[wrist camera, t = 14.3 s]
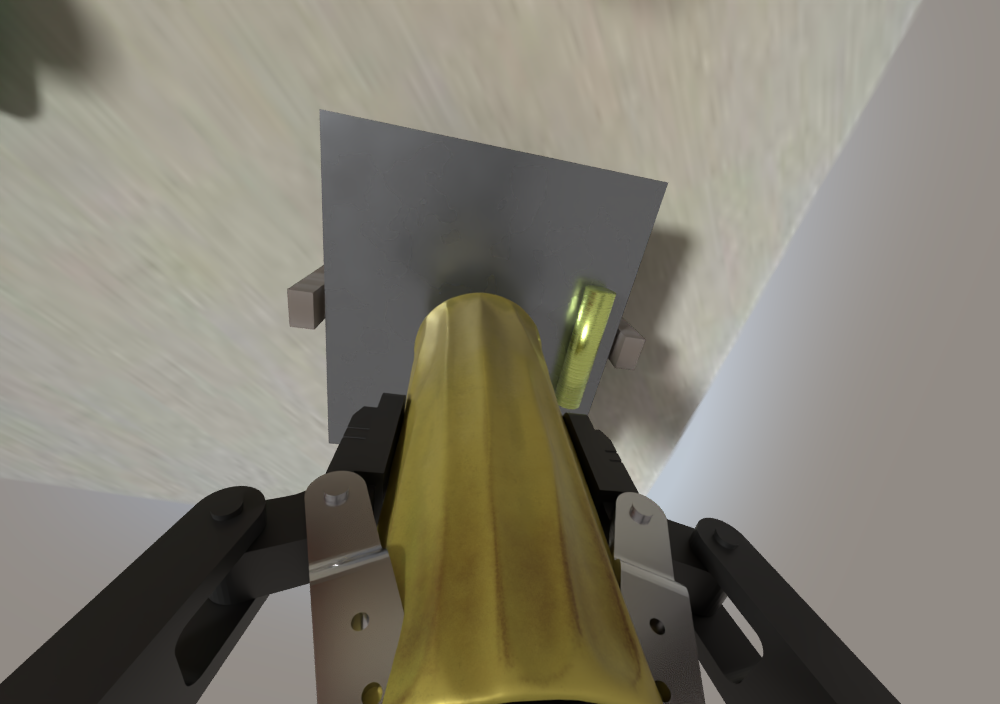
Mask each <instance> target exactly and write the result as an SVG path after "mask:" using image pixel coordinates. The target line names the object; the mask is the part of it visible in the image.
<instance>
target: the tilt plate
mask: <svg viewBox="0 0 1000 704" xmlns="http://www.w3.org/2000/svg"><path fill="white" fill-rule="evenodd" d="M320 140H321V177H322V213H323V250H324V286H325V322H326V359H327V395H328V432H329V443H332V444H340V441H341V439H342V438H343V435H344V433H345V431H346V429H347V427H348V424H349V422H350V420H351V418H352V416H353V415H354V414H355V413H356V412H357V411H359V410H360V409H361V408H362V407H364V406H368V407H378V404H379V402H380V399H381V396H382V394H383V393H392V394H401V395H406V398H407V392H408V386H409V381H410V375H411V370H412V365H413V361H414V346H415V339H416V336H417V333H418V330H419V328H420V326H421V324H422V322H423V321H424V319H425V317H426V316H427V315H428V314H429V313H430V312H431V311H432V310H433V309H434V308H436V307H437V306H438V305H440V304H441V303H443V302H444V301H446V300H448V299H450V298H453V297H456V296H460V295H464V294H469V293H480V292H483V293H489V294H494V295H498V296H501V297H504V298H506V299H509V300H511V301H512V302H514V303H516V304H517V305H519V306H520V307H521V308H522V309H523V310H524V311H525V312H526V313H527V314H528V315H529V316H530V317H531V319H532V320H533V322H534V323H535V325H536V327H537V329H538V332H539V335H540V339H541V345H542V352H543V356H544V359H545V362H546V365H547V368H548V372H549V376H550V380H551V383H552V386H553V389H554V392H555V396H556V399H557V402H558V405H559V408H560V411H561V414H562V416H563V415H564V413H566V412H567V413H577V414H586V415H587V416H588V413H589V410H590V407H591V405H592V402H593V399H594V396H595V393H596V390H597V387H598V384H599V381H600V379H601V376H602V373H603V370H604V367H605V364H606V361H607V358H608V355H609V352H610V350H611V347H612V344H613V341H614V338H615V335H616V332H617V329H618V326H619V324H620V321H621V318H622V315H623V312H624V309H625V306H626V303H627V300H628V297H629V295H630V292H631V289H632V286H633V283H634V280H635V277H636V274H637V271H638V269H639V266H640V263H641V260H642V257H643V254H644V251H645V248H646V245H647V242H648V240H649V237H650V234H651V231H652V228H653V225H654V222H655V219H656V216H657V214H658V211H659V208H660V205H661V202H662V199H663V196H664V193H665V190H666V188H667V185H668V183H667V182H662V181H658V180H653V179H648V178H643V177H639V176H634V175H629V174H624V173H620V172H615V171H610V170H605V169H601V168H596V167H591V166H586V165H582V164H577V163H572V162H567V161H563V160H558V159H553V158H549V157H544V156H539V155H534V154H530V153H525V152H520V151H515V150H511V149H506V148H501V147H496V146H492V145H487V144H482V143H477V142H473V141H468V140H463V139H458V138H454V137H449V136H444V135H439V134H435V133H430V132H425V131H421V130H416V129H411V128H406V127H402V126H397V125H392V124H387V123H383V122H378V121H373V120H368V119H364V118H359V117H354V116H349V115H345V114H340V113H335V112H330V111H326V110H321V109H320ZM405 405H406V404H405Z"/></svg>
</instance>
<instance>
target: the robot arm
mask: <svg viewBox="0 0 1000 704" xmlns="http://www.w3.org/2000/svg"><path fill="white" fill-rule="evenodd" d="M405 404H406V395H401V394H392V393H383V394H382V396H381V399H380V402H379V404H378V407H368V406H364V407H362V408H361V409H360V410H359V411H357V412H356V413H355V414H354V415H353V416H352V418H351V420H350V422H349V424H348V427H347V429H346V431H345V433H344V435H343V438H342V439H341V441H340V444H339V446H338V448H337V450H336V452H335V454H334V457H333V459H332V461H331V463H330V465H329V467H328V470H327V472H326V474H324V475H322V476H320V477H318V478H317V479H315V480H314V481H313V482H312V483H311V484H310V485H309V486H308V488H307V490H306V491H304V492H301V493H298V494H295V495H291V496H286V497H280V498H275V499H269V500H265V498H264V495H263V494H262V493H261V492H260V491H259V490H257V489H255V488H252V487H248V486H235V487H229V488H225V489H222V490H219V491H217V492H214V493H212V494H210V495H208V496H207V497H205V498H204V499H202V500H201V501H200V502H199V503H197V504H196V505H195V506H194V507H193V508H192V509H191V510H190V511H189V512H187V513H186V514H185V515H184V516H183V517H182V518H181V519H180V520H179V521H178V522H177V523H175V524H174V525H173V526H172V527H171V528H170V529H169V530H168V531H167V532H166V533H165V534H164V535H162V536H161V537H160V538H159V539H158V540H157V541H156V542H155V543H154V544H153V545H151V546H150V547H149V548H148V549H147V550H146V551H145V552H144V553H143V554H142V555H141V556H139V557H138V558H137V559H136V560H135V561H134V562H133V563H132V564H131V565H130V566H128V567H127V568H126V569H125V570H124V571H123V572H122V573H121V574H120V575H119V576H118V577H117V578H115V579H114V580H113V581H112V582H111V583H110V584H109V585H108V586H107V587H106V588H104V589H103V590H102V591H101V592H100V593H99V594H98V595H97V596H96V597H95V598H94V599H93V600H92V601H90V602H89V603H88V604H87V605H86V606H85V607H84V608H83V609H82V610H80V611H79V612H78V613H77V614H76V615H75V616H74V617H73V618H72V619H71V620H70V621H68V622H67V623H66V624H65V625H64V626H63V627H62V628H61V629H60V630H59V631H58V632H56V633H55V634H54V635H53V636H52V637H51V638H50V639H49V640H48V641H47V642H46V643H44V644H43V645H42V646H41V647H40V648H39V649H38V650H37V651H36V652H35V653H34V654H32V655H31V656H30V657H29V658H28V659H27V660H26V661H25V662H24V663H23V664H22V665H20V666H19V667H18V668H17V669H16V670H15V671H14V672H13V673H12V674H11V675H9V676H8V677H7V678H6V679H5V680H4V681H3V682H2V683H1V684H0V704H196V703H197V702H198V700H199V699H200V697H201V696H202V694H203V692H204V691H205V690H206V688H207V687H208V685H209V684H210V682H211V681H212V679H213V678H214V676H215V675H216V673H217V672H218V670H219V669H220V667H221V666H222V664H223V663H224V661H225V660H226V659H227V657H228V655H229V654H230V652H231V651H232V650H233V648H234V646H235V645H236V644H237V642H238V641H239V639H240V638H241V636H242V635H243V633H244V632H245V630H246V629H247V627H248V626H249V624H250V623H251V621H252V620H253V618H254V617H255V615H256V614H257V612H258V611H259V609H260V608H261V606H262V605H263V603H264V602H265V601H266V599H267V598H268V596H269V594H272V593H276V592H280V591H283V590H287V589H290V588H294V587H297V586H301V585H305V584H308V583H310V595H311V611H312V625H313V643H314V659H315V674H316V690H317V704H363V703H362V699H363V697H364V695H365V694H366V692H367V691H368V690H369V689H371V688H373V687H380V688H381V689H382V697H381V700H380V701H379V703H378V704H382V703H383V698H384V695H385V691H386V687H387V683H388V679H389V676H390V672H391V669H392V665H393V661H394V657H395V653H396V649H397V646H398V642H399V638H400V633H401V628H402V623H403V618H404V611H403V607H402V603H401V599H400V595H399V591H398V587H397V583H396V579H395V575H394V572H393V568H392V564H391V560H390V556H389V553H388V551H387V549H386V548H383V549H382V547H381V544H380V539H379V535H378V531H377V524H378V520H379V516H380V512H381V508H382V505H383V501H384V497H385V494H386V490H387V486H388V481H389V476H390V471H391V466H392V462H393V457H394V454H395V450H396V446H397V443H398V439H399V435H400V431H401V427H402V423H403V419H404V414H405ZM563 419H564V422H565V424H566V427H567V429H568V432H569V434H570V437H571V440H572V443H573V445H574V448H575V451H576V454H577V457H578V459H579V462H580V465H581V468H582V471H583V474H584V477H585V479H586V482H587V485H588V488H589V491H590V494H591V496H592V499H593V502H594V505H595V508H596V511H597V514H598V516H599V519H600V522H601V525H602V528H603V531H604V534H605V537H606V540H607V543H608V546H609V548H610V552H611V555H612V564H613V571H614V574H615V576H616V579H617V582H618V585H619V588H620V591H621V593H622V596H623V599H624V601H625V604H626V607H627V609H628V612H629V615H630V617H631V620H632V623H633V625H634V628H635V631H636V634H637V636H638V639H639V642H640V644H641V647H642V650H643V653H644V655H645V658H646V661H647V663H648V666H649V669H650V671H651V674H652V676H653V679H654V681H655V683H656V686H657V688H658V691H659V693H660V694H661V696H662V698H663V700H664V702H663V704H705V698H704V692H703V685H702V678H701V672H700V666H699V661H700V663H701V664H702V666H703V668H704V669H705V671H706V672H707V674H708V676H709V677H710V679H711V680H712V682H713V684H714V685H715V687H716V688H717V690H718V692H719V693H720V695H721V696H722V698H723V700H724V701H725V703H726V704H901V703H900V702H899V701H898V700H897V699H896V698H895V697H894V696H893V695H892V694H891V693H890V692H889V691H888V690H887V688H886V687H885V686H884V685H883V684H882V683H881V682H880V681H879V680H878V679H877V678H876V677H875V676H874V675H873V673H872V672H871V671H870V670H869V669H868V668H867V667H866V666H865V665H864V664H863V663H862V662H861V661H860V660H859V659H858V657H856V655H855V654H854V653H853V652H852V651H851V650H850V649H849V648H848V647H847V646H846V645H845V644H844V643H843V642H842V641H841V639H840V638H839V637H838V636H837V635H836V634H835V633H834V632H833V631H832V630H831V629H830V628H829V627H828V626H827V624H826V623H825V622H824V621H823V620H822V619H821V618H820V617H819V616H818V615H817V614H816V613H815V612H814V611H813V610H812V608H811V607H810V606H809V605H808V604H807V603H806V602H805V601H804V600H803V599H802V598H801V597H800V596H799V595H798V594H797V593H796V592H795V590H794V589H793V588H792V587H791V586H790V585H789V584H788V583H787V582H786V581H785V580H784V579H783V578H782V577H781V576H780V574H779V573H778V572H777V571H776V570H775V569H774V568H773V567H772V566H771V565H770V564H769V563H768V562H767V561H766V559H764V557H763V556H762V555H761V554H760V553H759V552H758V551H757V550H756V549H755V548H754V547H753V546H752V545H751V544H750V542H749V541H748V540H747V539H746V538H745V537H744V536H743V535H742V534H741V533H740V532H738V531H737V530H736V529H735V528H733V527H732V526H730V525H729V524H726V523H725V522H723V521H720V520H718V519H714V518H703V519H701V520H700V521H699V522H698V524H697V525H696V527H695V529H694V528H691V527H688V526H685V525H682V524H679V523H676V522H674V521H671V520H668V519H666V516H665V514H664V512H663V511H662V509H661V508H660V507H659V506H658V505H657V504H656V503H655V502H654V501H652V500H651V499H649V498H648V497H646V496H644V495H641V494H639V493H638V491H637V489H636V487H635V485H634V483H633V481H632V480H631V478H630V476H629V474H628V472H627V470H626V468H625V466H624V464H623V463H621V459H620V457H619V455H618V454H617V453H616V452H617V451H616V449H615V447H614V446H613V444H612V442H611V440H610V439H609V438H608V437H607V436H606V435H605V434H604V433H603V432H601V431H600V430H594V427H593V425H592V423H591V421H590V419H589V417H588V416H587V415H586V414H577V413H567V412H566V413H564V415H563ZM727 596H728V597H729V598H730V600H731V601H732V602H733V603H734V605H735V606H736V607H737V609H738V610H739V611H740V612H741V614H742V615H743V616H744V618H745V619H746V620H747V621H748V623H749V624H750V625H751V627H752V628H753V629H754V631H755V632H756V633H757V635H758V636H759V638H760V640H761V643H762V646H763V657H761V656H760V655H759V653H758V652H757V651H756V649H755V648H754V647H753V645H752V644H751V643H750V641H749V640H748V639H747V637H746V636H745V635H744V633H743V632H742V631H741V629H740V628H739V627H738V625H737V624H736V623H735V621H734V620H733V619H732V617H731V616H730V615H729V613H728V612H727V611H726V609H725V608H724V607H723V605H722V603H723V602H724V600H725V599H726V597H727ZM501 704H598V703H591V702H586V701H580V700H537V701H518V702H507V703H501Z"/></svg>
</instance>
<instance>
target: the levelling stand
mask: <svg viewBox="0 0 1000 704" xmlns="http://www.w3.org/2000/svg"><path fill="white" fill-rule="evenodd" d="M287 293H288V308H289V323H290V327H298V328H306V329H315V328H316V327H317V326H318V325H319V324H320V323H321V322H322V321H323V320H324V319H325V286H324V265H323V266H322V267H320V268H319V269H317V270H316V271H314V272H313V273H311V274H310V275H308V276H307V277H305V278H304V279H302V280H301V281H299V282H297V283H296V284H294V285H293V286H291V287H290V288H288V289H287ZM644 343H645V339H644V338H643V337H642V336H641V335H640V334H639V333H638V332H637V331H636V330H635V329H634V328H633V327H632V326H631V325H630V324H629V323H627V322H626V321H625V320H624V319H623V318H621V321H620V324H619V326H618V329H617V332H616V335H615V338H614V341H613V344H612V347H611V350H610V352H609V355H608V359H609V360H610V362H611V363H612V364H613V366H614V367H615V368H621V369H629V370H634V369H635V366H636V364H637V361H638V358H639V356H640V353H641V351H642V348H643V345H644Z"/></svg>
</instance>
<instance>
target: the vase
mask: <svg viewBox="0 0 1000 704" xmlns="http://www.w3.org/2000/svg"><path fill="white" fill-rule="evenodd" d="M377 531H378V535H379V539H380V544H381V547H382V549H383V548H386V549H387V551H388V553H389V556H390V560H391V564H392V568H393V572H394V575H395V579H396V583H397V587H398V591H399V595H400V599H401V603H402V607H403V611H404V618H403V623H402V628H401V633H400V638H399V642H398V646H397V649H396V653H395V657H394V661H393V665H392V669H391V672H390V676H389V679H388V683H387V687H386V691H385V695H384V698H383V703H382V704H501V703H507V702H518V701H537V700H580V701H586V702H591V703H598V704H663V702H664V700H663V698H662V696H661V694H660V693H659V691H658V688H657V686H656V683H655V681H654V679H653V676H652V674H651V671H650V669H649V666H648V663H647V661H646V658H645V655H644V653H643V650H642V647H641V644H640V642H639V639H638V636H637V634H636V631H635V628H634V625H633V623H632V620H631V617H630V615H629V612H628V609H627V607H626V604H625V601H624V599H623V596H622V593H621V591H620V588H619V585H618V582H617V579H616V576H615V574H614V571H613V564H612V555H611V552H610V548H609V546H608V543H607V540H606V537H605V534H604V531H603V528H602V525H601V522H600V519H599V516H598V514H597V511H596V508H595V505H594V502H593V499H592V496H591V494H590V491H589V488H588V485H587V482H586V479H585V477H584V474H583V471H582V468H581V465H580V462H579V459H578V457H577V454H576V451H575V448H574V445H573V443H572V440H571V437H570V434H569V432H568V429H567V427H566V424H565V422H564V419H563V416H562V414H561V411H560V408H559V405H558V402H557V399H556V396H555V392H554V389H553V386H552V383H551V380H550V376H549V372H548V368H547V365H546V362H545V359H544V356H543V352H542V345H541V339H540V335H539V332H538V329H537V327H536V325H535V323H534V322H533V320H532V319H531V317H530V316H529V315H528V314H527V313H526V312H525V311H524V310H523V309H522V308H521V307H520V306H519V305H517V304H516V303H514V302H512V301H511V300H509V299H506V298H504V297H501V296H498V295H494V294H489V293H483V292H480V293H469V294H464V295H460V296H456V297H453V298H450V299H448V300H446V301H444V302H443V303H441V304H440V305H438V306H437V307H436V308H434V309H433V310H432V311H431V312H430V313H429V314H428V315H427V316H426V317H425V319H424V321H423V322H422V324H421V326H420V328H419V330H418V333H417V336H416V339H415V346H414V361H413V365H412V370H411V375H410V381H409V386H408V392H407V398H406V405H405V414H404V419H403V423H402V427H401V431H400V435H399V439H398V443H397V446H396V450H395V454H394V457H393V462H392V466H391V471H390V476H389V481H388V486H387V490H386V494H385V497H384V501H383V505H382V508H381V512H380V516H379V520H378V524H377ZM381 697H382V689H381V688H380V687H373V688H371V689H369V690H368V691H367V692H366V694H365V695H364V697H363V699H362V703H363V704H378V703H379V701H380V700H381Z"/></svg>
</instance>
